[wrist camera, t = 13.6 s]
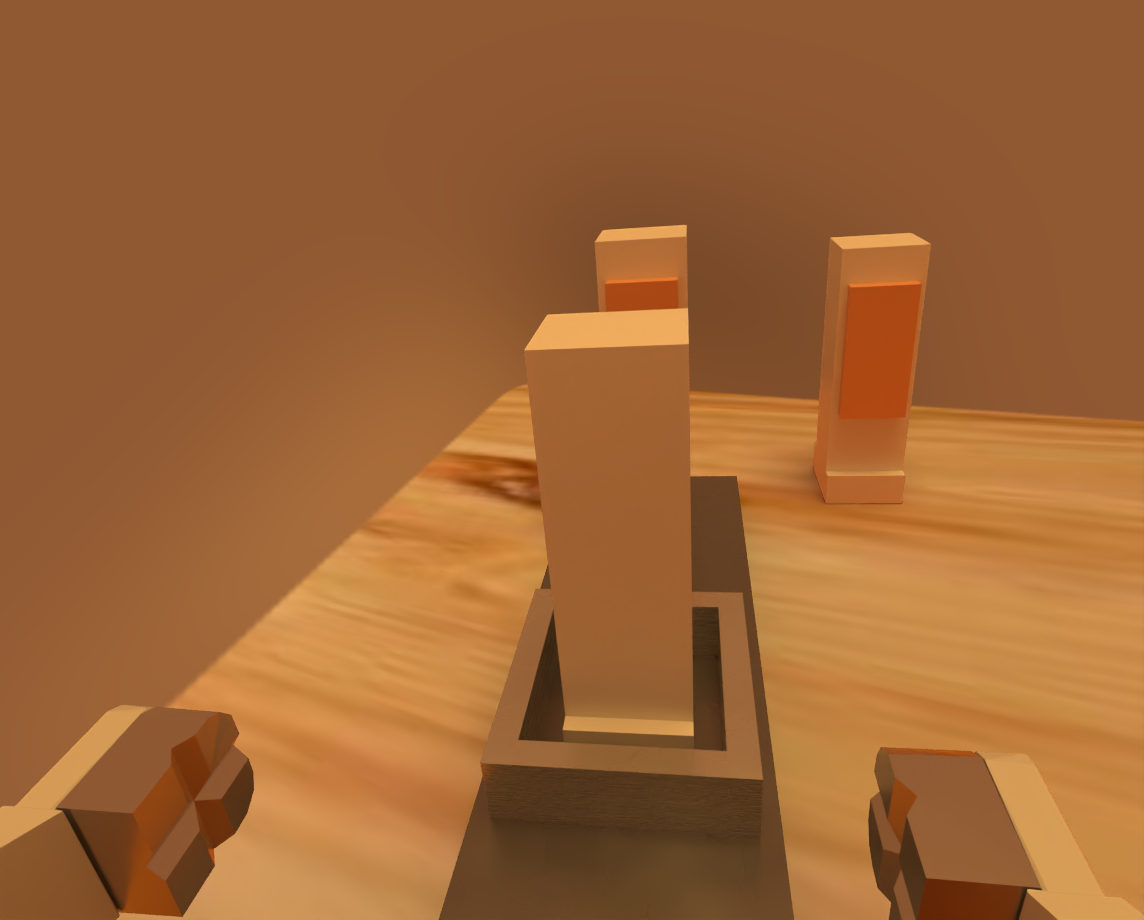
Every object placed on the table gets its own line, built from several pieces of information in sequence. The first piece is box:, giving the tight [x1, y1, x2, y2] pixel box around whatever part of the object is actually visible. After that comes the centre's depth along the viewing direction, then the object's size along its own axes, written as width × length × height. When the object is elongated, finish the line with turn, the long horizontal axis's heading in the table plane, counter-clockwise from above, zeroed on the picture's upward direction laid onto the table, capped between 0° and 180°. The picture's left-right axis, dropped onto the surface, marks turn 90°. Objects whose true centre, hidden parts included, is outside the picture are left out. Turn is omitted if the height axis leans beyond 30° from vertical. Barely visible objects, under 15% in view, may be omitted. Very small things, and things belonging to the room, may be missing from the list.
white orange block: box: [813, 233, 931, 504], centre depth 34 cm, size 4×4×12 cm
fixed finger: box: [595, 225, 688, 312], centre depth 32 cm, size 4×4×12 cm
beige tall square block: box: [524, 308, 694, 749], centre depth 19 cm, size 4×4×12 cm
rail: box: [439, 476, 794, 920], centre depth 23 cm, size 8×30×4 cm, turn 172°
